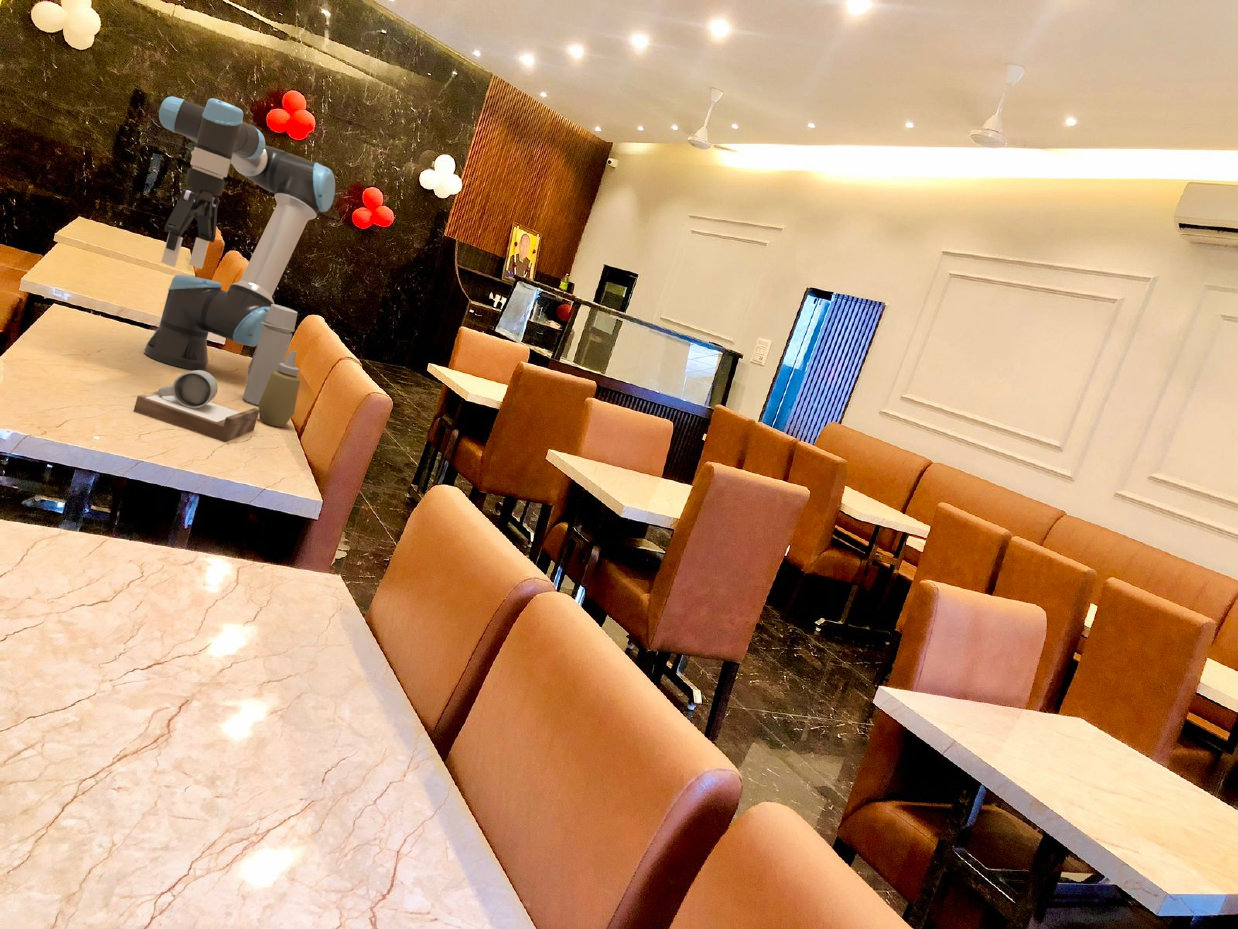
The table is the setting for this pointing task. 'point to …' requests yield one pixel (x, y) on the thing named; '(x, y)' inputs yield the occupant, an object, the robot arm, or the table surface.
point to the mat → (206, 411)
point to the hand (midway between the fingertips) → (182, 265)
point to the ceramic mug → (192, 389)
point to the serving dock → (199, 419)
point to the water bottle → (269, 350)
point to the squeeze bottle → (280, 394)
